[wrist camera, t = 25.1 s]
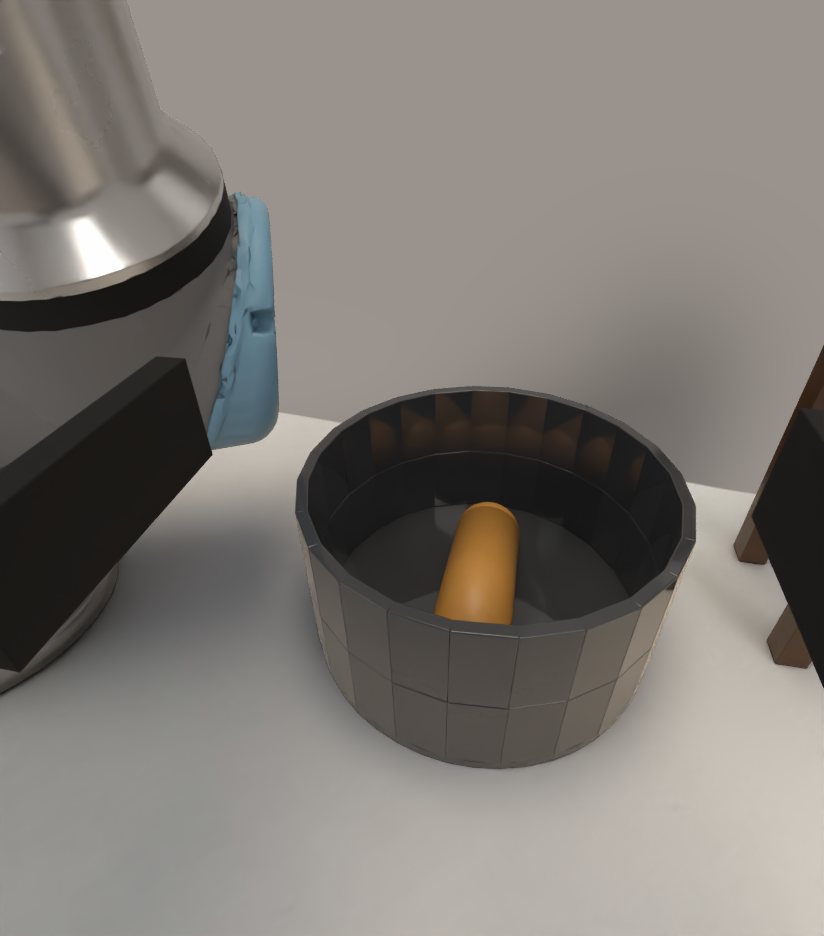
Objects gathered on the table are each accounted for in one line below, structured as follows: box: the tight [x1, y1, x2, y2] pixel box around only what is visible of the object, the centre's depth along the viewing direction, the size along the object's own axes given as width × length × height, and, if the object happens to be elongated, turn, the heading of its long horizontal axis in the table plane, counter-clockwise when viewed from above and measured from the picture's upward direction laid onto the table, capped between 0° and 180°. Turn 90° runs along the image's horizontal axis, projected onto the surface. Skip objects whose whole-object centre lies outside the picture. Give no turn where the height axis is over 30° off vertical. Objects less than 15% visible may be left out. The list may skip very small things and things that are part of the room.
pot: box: [295, 386, 696, 769], centre depth 31 cm, size 19×19×10 cm
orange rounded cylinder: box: [433, 502, 519, 625], centre depth 30 cm, size 15×4×4 cm, turn 168°
